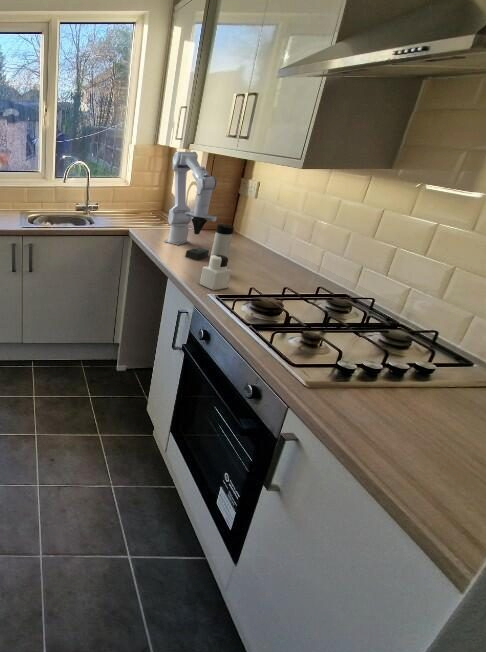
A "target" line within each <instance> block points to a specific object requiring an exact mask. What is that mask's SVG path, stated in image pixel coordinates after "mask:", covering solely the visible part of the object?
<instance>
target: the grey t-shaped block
mask: <svg viewBox="0 0 486 652" xmlns="http://www.w3.org/2000/svg"><path fill="white" fill-rule="evenodd" d="M195 249H196V251H197V252H199V251H204V252H205V255H204V258H206V257H208V256H209V253H210V249H207V248H203V247H200V246H199V247H196V248H195Z"/></svg>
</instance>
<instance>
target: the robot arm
mask: <svg viewBox="0 0 486 652" xmlns="http://www.w3.org/2000/svg"><path fill="white" fill-rule="evenodd" d="M198 158H199V156H198V153H197V152H196V151H176V152H175V153H174V154H173V157H172V171H174V206H173V207H171V208H170V209H169V211H168V217H167V220H168V224H169V225H170V227H169V229H170V230H169V234H168V239H166V240H164V242H166V243H169V244H173V245H176V246H180V245H182V244H186V243H189V240H188V238H189V237H188V236H189V231H190V229H189V228H190V227H189V224H190V223H191V222H192V225H193V233H194V235H200V233H201V231H202V229H203V227H204V226H205V224H206V223H207V222H208V221H211V222H216V221H217V218H218V216H214V215H211V214H209V208H210V204H211V199H212V194H213V191H214V190H215V189H216V187H217V178H216V176H213V175H210V173H209V172H208V171H207V170H206V167H205V166H201V165H200V163H199V160H198ZM189 171H192V173H191V174H192V177H193V179H194V180H195V182H196V199H195V206H194V210H193V211H191V208H190V207H189V206H188V205H187V197H186V195H187V186H186V185H187V173H188V172H189Z"/></svg>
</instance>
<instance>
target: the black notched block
mask: <svg viewBox="0 0 486 652" xmlns="http://www.w3.org/2000/svg"><path fill="white" fill-rule="evenodd" d="M204 255H205V252H204V251H199V252H197V251H196V248H191V249H187V250H186V251H185V258H188V259H192V260H195V261H199V260H203V259H204V258H205V257H204Z"/></svg>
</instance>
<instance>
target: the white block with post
mask: <svg viewBox="0 0 486 652" xmlns="http://www.w3.org/2000/svg"><path fill="white" fill-rule="evenodd" d="M228 263H229V258H228V257H226V256H223V255H212V256H211V255H210V257H209V263H208V265H207V266H206V265H205V266H203V267H202V270H201V275H200V280H199V285H201V286H203V287H205V288H207V289H210V290H211V291H219V290H224V289H227V288H228V287H229V282H230V278H231V274H232V270H231V269H230V268H229V269H228V268H227V267H228Z"/></svg>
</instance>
